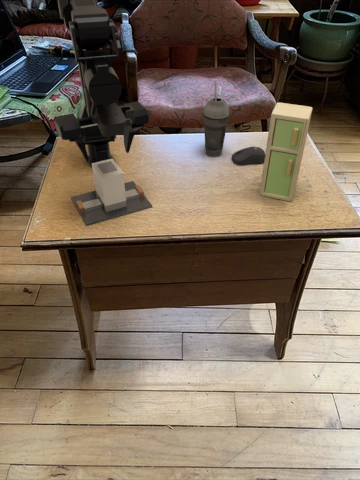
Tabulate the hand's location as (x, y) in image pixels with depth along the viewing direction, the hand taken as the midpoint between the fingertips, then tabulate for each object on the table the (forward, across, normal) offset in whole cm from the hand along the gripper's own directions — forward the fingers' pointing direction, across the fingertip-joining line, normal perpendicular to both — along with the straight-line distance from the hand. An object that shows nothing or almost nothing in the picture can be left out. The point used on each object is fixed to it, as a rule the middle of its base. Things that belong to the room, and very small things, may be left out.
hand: (107, 156), depth 90 cm
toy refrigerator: (+12, +38, -14) cm, 42 cm away
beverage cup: (+12, +33, +10) cm, 37 cm away
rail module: (+12, 0, 0) cm, 12 cm away
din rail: (+12, 0, 0) cm, 12 cm away
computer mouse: (+12, +40, +2) cm, 42 cm away
